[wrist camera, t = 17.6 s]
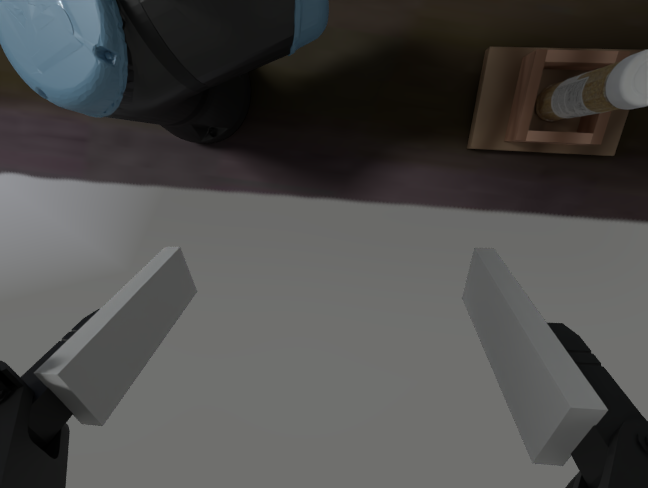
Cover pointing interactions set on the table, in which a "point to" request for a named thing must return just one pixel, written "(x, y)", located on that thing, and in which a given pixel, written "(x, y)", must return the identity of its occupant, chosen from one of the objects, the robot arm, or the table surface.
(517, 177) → the table surface
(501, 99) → the collar plate
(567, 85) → the sprinkles bottle
